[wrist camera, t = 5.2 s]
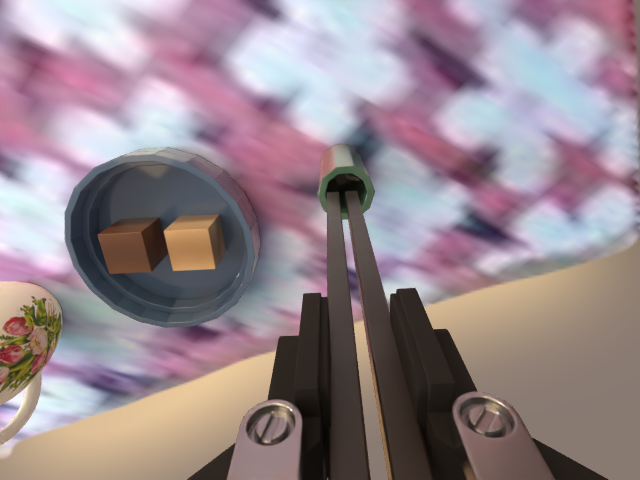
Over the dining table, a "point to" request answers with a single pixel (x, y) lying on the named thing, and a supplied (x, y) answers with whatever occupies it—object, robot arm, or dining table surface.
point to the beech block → (195, 242)
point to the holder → (344, 177)
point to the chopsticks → (388, 377)
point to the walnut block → (133, 245)
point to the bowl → (168, 204)
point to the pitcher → (25, 345)
